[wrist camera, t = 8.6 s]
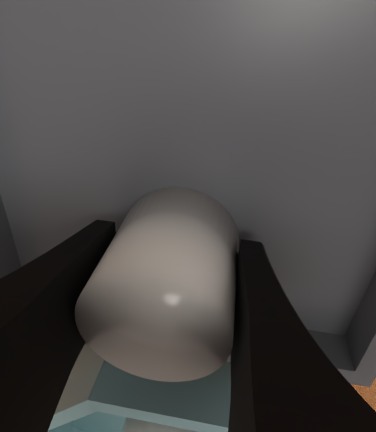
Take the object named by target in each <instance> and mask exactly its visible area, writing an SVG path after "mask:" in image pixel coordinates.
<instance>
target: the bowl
mask: <svg viewBox="0 0 376 432" xmlns="http://www.w3.org/2000/svg"><path fill="white" fill-rule="evenodd" d="M230 400H231V362H225V363H224V364H223V365H222V366H221V367H220V368H219V369H218V370H216V371H215V372H213V373H212V374H209V375H207V376H205V377H202V378H199V379H195V380H190V381H183V382H165V381H156V380H151V379H146V378H142V377H139V376H135V375H133V374H130V373H128V372H125V371H123V370H121V369H119V368H117V367H115V366H113V365H112V364H110V363H108V362H107V361H105V360H104V359H102V358H101V357H100V356H99V355H98V354H96V353H95V352H94V351H93V350H92V349H91V348H90V347H89V346H88V344H87V343H86V344H84V346H83V348H82V350H81V352H80V354H79V356H78V358H77V360H76V362H75V364H74V366H73V369H72V371H71V373H70V376H69V378H68V381H67V383H66V386H65V388H64V391H63V393H62V395H61V398H60V400H59V403H58V406H57V408H56V411H55V414H54V416H53V419H52V421H51V424H50V427H49V429H48V432H122V428H123V425H124V422H125V418H126V417H127V418H132V419H137V420H142V421H147V422H152V423H157V424H162V425H167V426H172V427H177V428H182V429H187V430H192V431H197V432H228V426H229V413H230Z"/></svg>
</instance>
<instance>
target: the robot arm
mask: <svg viewBox="0 0 376 432" xmlns="http://www.w3.org/2000/svg"><path fill="white" fill-rule="evenodd" d="M115 234H116V228H115V222H111V221H104V220H96V221H94V222H92V223H91V224H89V225H87V226H86V227H84V228H83V229H81V230H80V231H78V232H77V233H75V234H74V235H72V236H71V237H69V238H68V239H66V240H65V241H63V242H62V243H60V244H59V245H57V246H55V247H54V248H52V249H51V250H49V251H48V252H46V253H44V254H43V255H41V256H39V257H38V258H36V259H34V260H32V261H31V262H29V263H27V264H26V265H24V266H22V267H21V268H19V269H17V270H15V271H13V272H12V273H10V274H8V275H6V276H4V277H2V278H0V432H48V429H49V427H50V424H51V421H52V419H53V416H54V414H55V411H56V408H57V406H58V403H59V400H60V398H61V395H62V393H63V391H64V388H65V386H66V383H67V381H68V378H69V376H70V373H71V371H72V369H73V366H74V364H75V362H76V360H77V358H78V356H79V354H80V352H81V350H82V348H83V346H84V344H85V343H86V342H85V341H84V339H83V337H82V336H81V334H80V332H79V330H78V328H77V325H76V321H75V306H76V302H77V300H78V298H79V296H80V294H81V292H82V291H83V289H84V287H85V285H86V284H87V282H88V280H89V279H90V277H91V275H92V274H93V272H94V270H95V268H96V267H97V265H98V263H99V262H100V260H101V258H102V257H103V255H104V253H105V251H106V250H107V248H108V246H109V245H110V243H111V241H112V240H113V238H114V236H115ZM228 432H376V412H375V411H374V410H373V409H372V407H371V406H370V405H369V404H368V403H367V402H366V401H365V400H364V399H363V398H362V397H361V396H360V395H359V393H358V392H357V391H356V390H355V389H354V388H353V387H352V385H351V384H350V383H349V382H348V381H347V380H346V379H345V377H344V376H343V375H342V374H341V373H340V372H339V371H338V369H337V368H336V367H335V366H334V365H333V363H332V362H331V361H330V359H329V358H328V357H327V356H326V354H325V353H324V352H323V350H322V349H321V348H320V347H319V345H318V344H317V342H316V341H315V340H314V338H313V337H312V336H311V334H310V333H309V331H308V330H307V328H306V327H305V325H304V324H303V322H302V321H301V319H300V318H299V316H298V314H297V313H296V311H295V309H294V308H293V306H292V305H291V303H290V301H289V299H288V298H287V296H286V294H285V292H284V290H283V288H282V286H281V284H280V283H279V281H278V279H277V277H276V275H275V272H274V270H273V268H272V266H271V264H270V261H269V259H268V256H267V254H266V251H265V248H264V245H263V244H262V243H261V242H258V241H251V240H244V239H241V241H240V247H239V253H238V264H237V286H236V301H235V317H234V333H233V347H232V350H231V400H230V413H229V426H228Z"/></svg>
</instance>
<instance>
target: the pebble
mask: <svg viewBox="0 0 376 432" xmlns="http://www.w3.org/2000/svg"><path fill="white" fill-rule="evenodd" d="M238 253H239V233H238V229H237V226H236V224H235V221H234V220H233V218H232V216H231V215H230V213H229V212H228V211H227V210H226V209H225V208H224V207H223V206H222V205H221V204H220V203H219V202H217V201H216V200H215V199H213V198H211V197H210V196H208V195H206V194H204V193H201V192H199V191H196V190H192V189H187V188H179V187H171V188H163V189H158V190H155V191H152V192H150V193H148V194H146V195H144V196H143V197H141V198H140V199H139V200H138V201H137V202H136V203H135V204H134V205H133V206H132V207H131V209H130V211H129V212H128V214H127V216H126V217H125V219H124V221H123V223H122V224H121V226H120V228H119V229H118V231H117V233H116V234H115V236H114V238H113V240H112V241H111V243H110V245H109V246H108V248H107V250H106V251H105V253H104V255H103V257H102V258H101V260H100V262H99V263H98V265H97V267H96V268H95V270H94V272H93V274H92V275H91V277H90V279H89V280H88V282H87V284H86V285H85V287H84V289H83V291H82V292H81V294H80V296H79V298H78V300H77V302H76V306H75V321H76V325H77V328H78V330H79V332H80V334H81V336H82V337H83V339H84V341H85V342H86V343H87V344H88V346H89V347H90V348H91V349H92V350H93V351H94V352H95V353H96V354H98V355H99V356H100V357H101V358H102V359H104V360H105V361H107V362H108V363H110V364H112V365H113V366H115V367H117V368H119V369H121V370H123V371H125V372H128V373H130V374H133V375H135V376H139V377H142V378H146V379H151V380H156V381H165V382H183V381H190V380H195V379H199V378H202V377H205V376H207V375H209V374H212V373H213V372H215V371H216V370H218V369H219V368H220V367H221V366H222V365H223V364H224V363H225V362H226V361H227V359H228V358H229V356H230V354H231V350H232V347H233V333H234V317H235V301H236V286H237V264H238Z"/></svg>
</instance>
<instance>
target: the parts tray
mask: <svg viewBox="0 0 376 432" xmlns="http://www.w3.org/2000/svg"><path fill="white" fill-rule="evenodd" d="M171 187H179V188H187V189H192V190H196V191H199V192H201V193H204V194H206V195H208V196H210V197H211V198H213V199H215V200H216V201H217V202H219V203H220V204H221V205H222V206H223V207H224V208H225V209H226V210H227V211H228V212H229V213H230V215H231V216H232V218H233V220H234V221H235V224H236V226H237V229H238V233H239V247H240V241H241V239H244V240H251V241H258V242H261V243H262V244H263V245H264V248H265V251H266V254H267V256H268V259H269V261H270V264H271V266H272V268H273V270H274V272H275V275H276V277H277V279H278V281H279V283H280V284H281V286H282V288H283V290H284V292H285V294H286V296H287V298H288V299H289V301H290V303H291V305H292V306H293V308H294V309H295V311H296V313H297V314H298V316H299V318H300V319H301V321H302V322H303V324H304V325H305V327H306V328H307V330H308V331H309V333H310V334H311V336H312V337H313V338H314V340H315V341H316V342H317V344H318V345H319V347H320V348H321V349H322V350H323V352H324V353H325V354H326V356H327V357H328V358H329V359H330V361H331V362H332V363H333V365H334V366H335V367H336V368H337V369H338V371H339V372H340V373H341V374H342V375H343V376H344V377H345V379H346V380H347V381H348V382H349V383H350V384H356V385H362V386H367V387H370V385H371V384H372V382H373V380H374V379H375V377H376V0H0V278H2V277H4V276H6V275H8V274H10V273H12V272H13V271H15V270H17V269H19V268H21V267H22V266H24V265H26V264H27V263H29V262H31V261H32V260H34V259H36V258H38V257H39V256H41V255H43V254H44V253H46V252H48V251H49V250H51V249H52V248H54V247H55V246H57V245H59V244H60V243H62V242H63V241H65V240H66V239H68V238H69V237H71V236H72V235H74V234H75V233H77V232H78V231H80V230H81V229H83V228H84V227H86V226H87V225H89V224H91V223H92V222H94V221H96V220H104V221H111V222H115V228H116V233H117V231H118V229H119V228H120V226H121V224H122V223H123V221H124V219H125V217H126V216H127V214H128V212H129V211H130V209H131V207H132V206H133V205H134V204H135V203H136V202H137V201H138V200H139V199H140V198H141V197H143V196H144V195H146V194H148V193H150V192H152V191H155V190H158V189H163V188H171ZM226 362H231V354H230V356H229V358H228V359H227V361H226Z"/></svg>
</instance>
